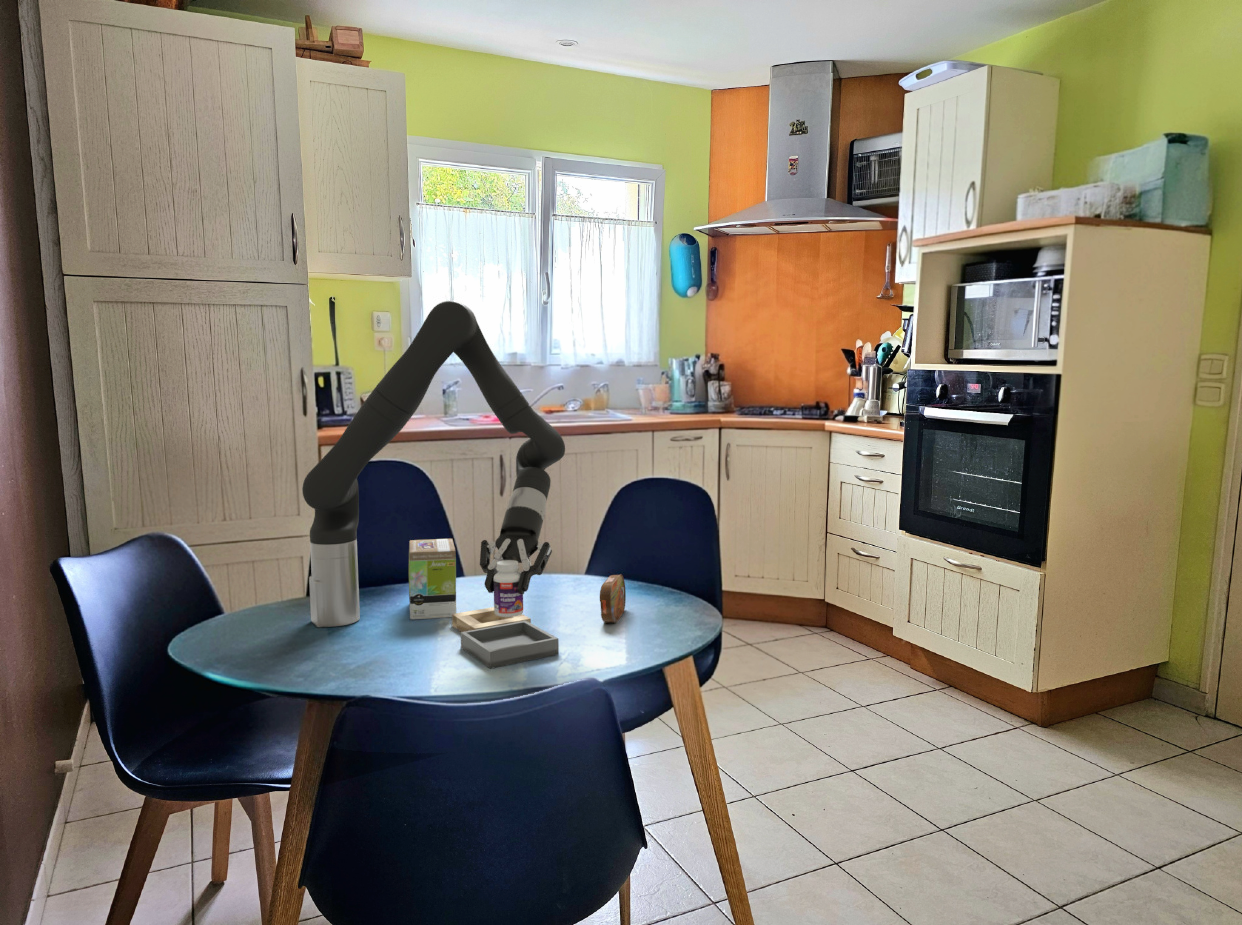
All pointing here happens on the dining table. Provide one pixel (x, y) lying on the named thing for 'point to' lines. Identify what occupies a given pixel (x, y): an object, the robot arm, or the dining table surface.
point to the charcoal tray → (509, 644)
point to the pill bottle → (507, 589)
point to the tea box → (432, 578)
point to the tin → (612, 598)
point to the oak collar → (482, 619)
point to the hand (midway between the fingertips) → (505, 591)
